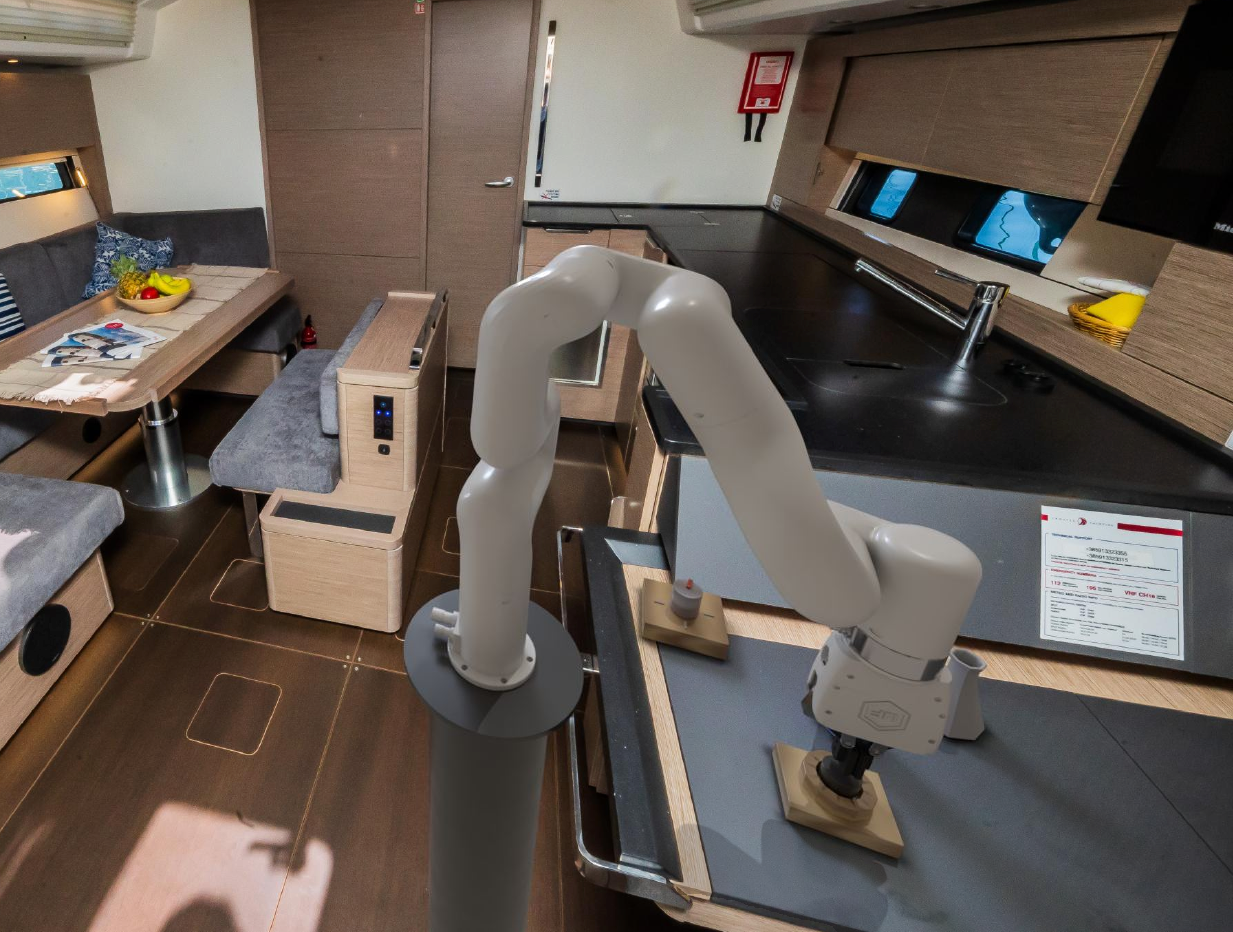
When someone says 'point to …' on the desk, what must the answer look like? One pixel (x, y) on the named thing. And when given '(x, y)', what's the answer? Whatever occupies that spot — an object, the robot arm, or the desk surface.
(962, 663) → the flask
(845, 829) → the button block
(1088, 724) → the desk surface
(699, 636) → the knob panel
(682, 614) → the knob
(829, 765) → the button
